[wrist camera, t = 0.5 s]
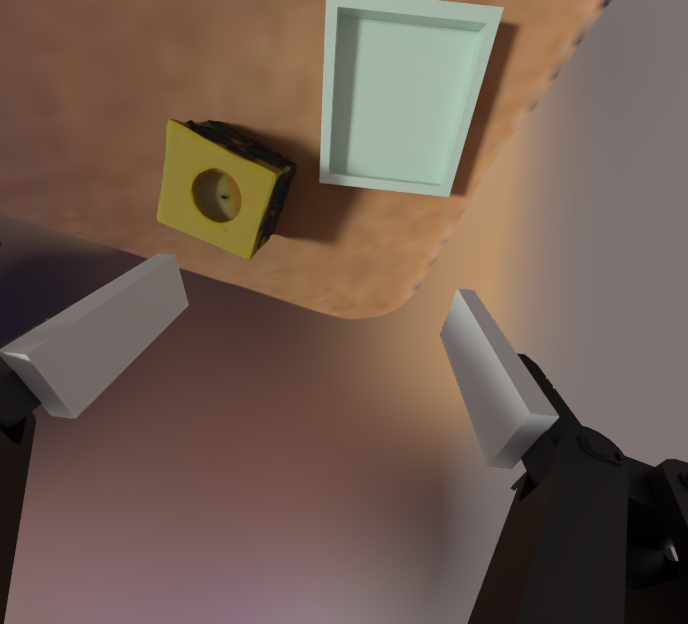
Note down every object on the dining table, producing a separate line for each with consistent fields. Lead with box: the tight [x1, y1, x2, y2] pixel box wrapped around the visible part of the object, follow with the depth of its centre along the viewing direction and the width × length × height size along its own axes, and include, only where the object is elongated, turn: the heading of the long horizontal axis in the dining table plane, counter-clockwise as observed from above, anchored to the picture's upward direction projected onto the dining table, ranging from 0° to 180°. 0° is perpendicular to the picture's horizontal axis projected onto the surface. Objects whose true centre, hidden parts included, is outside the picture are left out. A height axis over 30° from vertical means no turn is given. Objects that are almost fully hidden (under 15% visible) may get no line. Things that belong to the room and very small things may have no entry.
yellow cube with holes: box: [157, 119, 297, 261], centre depth 30 cm, size 10×10×10 cm
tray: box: [319, 0, 503, 197], centre depth 28 cm, size 15×15×3 cm
